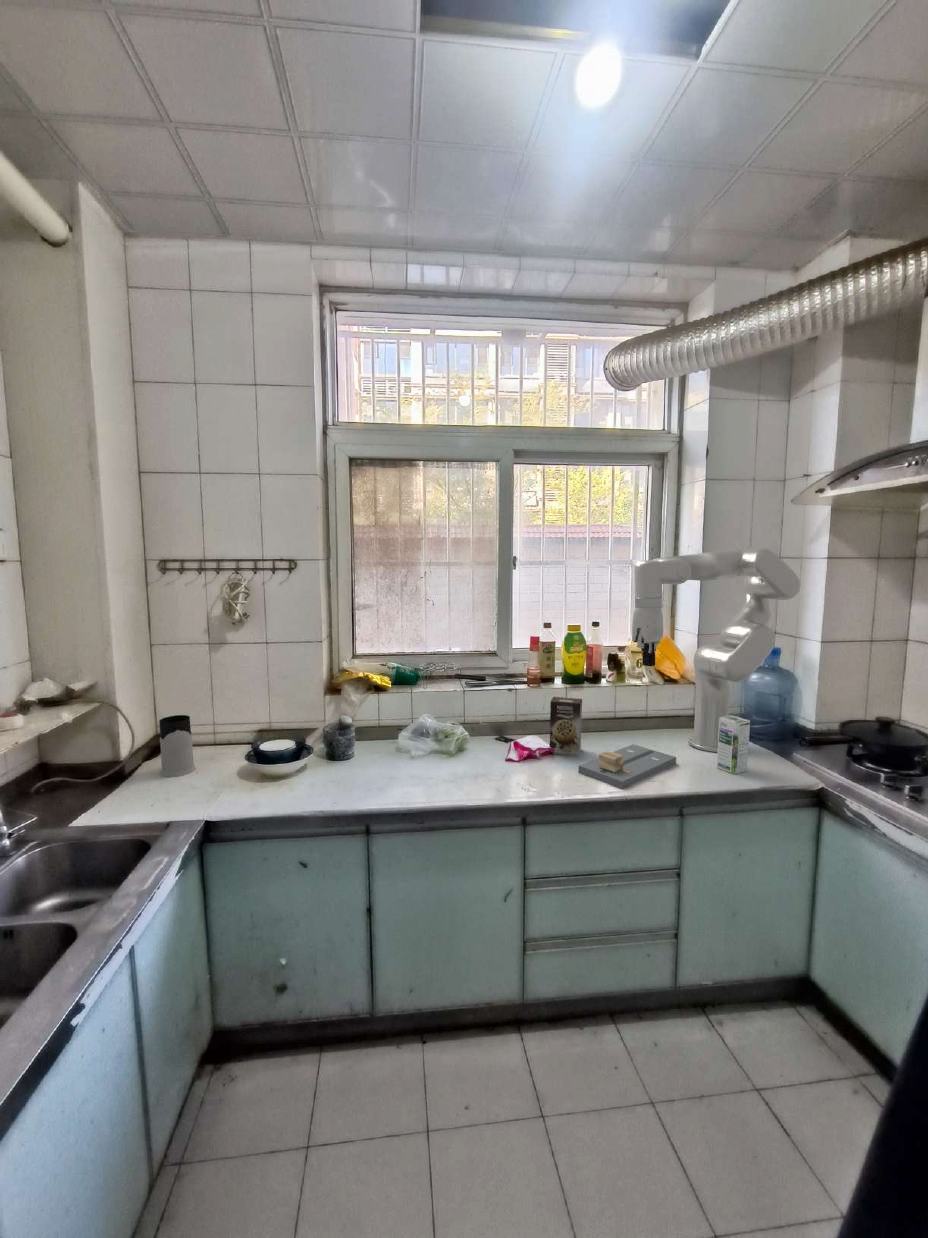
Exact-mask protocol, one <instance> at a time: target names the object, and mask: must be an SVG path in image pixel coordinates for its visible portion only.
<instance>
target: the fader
mask: <svg viewBox="0 0 928 1238" xmlns="http://www.w3.org/2000/svg"><path fill="white" fill-rule="evenodd" d="M613 752H614V751H609V750H606V751H603V752H600V753H599V754H598V758H599V767H601V768H604V769H607V770H609V771H612V772H616V771H618V770H621V769H623V755H619V754H616V753H613Z"/></svg>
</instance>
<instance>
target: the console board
mask: <svg viewBox="0 0 928 1238" xmlns="http://www.w3.org/2000/svg"><path fill="white" fill-rule="evenodd" d="M612 752H613V753H616V754H619V755H623V769H621V770H618V771H616V772H612V771H609V770H607V769H604V768H601V767H599V757H597V758H594V759H592V760H589V761H587V762H584V763H581V764H578V768H577V769H578V771H577V772H578V773H579V774H581V775H584V776H587V777H589V778H592V779H595V780H597V781H599V782H603V783H605V784H608V785H611V786H612V787H616V788H617V789H618V788H619V789H620V790H623V789H625V788H628V787H630V786H632V785H634V784H636V783H638V782H641V781H642V780H644V779H647V778H649V777H651V776H653V775H655V774H658V773H659V772H662V771H663V770H666V769H668V768H670V767H672V766H675V765H676V764H677V756H674V755H671V754H667V753H665V752H661V751H659V750H658V751H657V750H655V749H654V750H653V749H650V748H647V747H644V746H640V745H637V744H634V743H633V744H630V745H628V746H624V747H623V748H620V749H618V750H615V751H612Z"/></svg>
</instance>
